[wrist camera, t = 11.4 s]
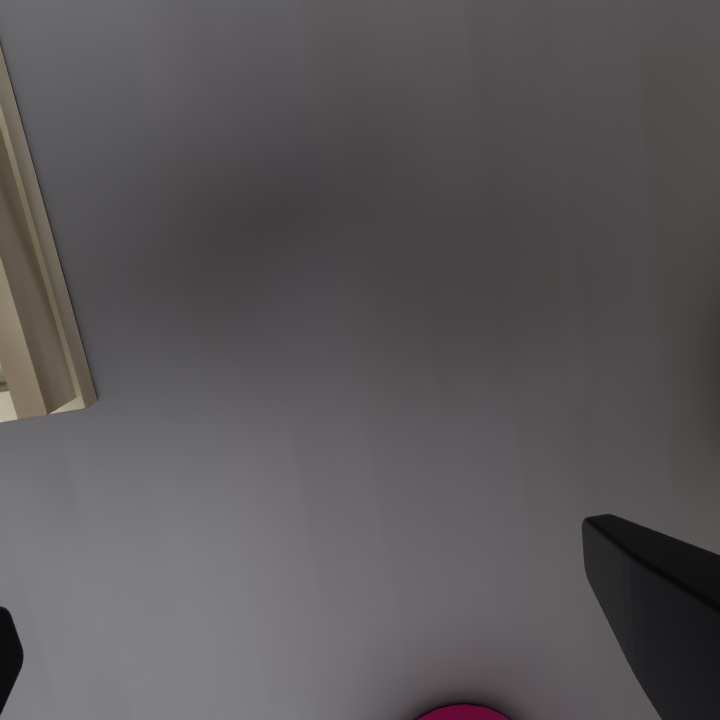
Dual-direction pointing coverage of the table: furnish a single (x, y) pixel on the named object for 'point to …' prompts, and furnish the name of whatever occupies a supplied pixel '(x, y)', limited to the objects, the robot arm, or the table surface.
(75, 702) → the table surface
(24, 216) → the divided wooden tray
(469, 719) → the pepper mill
